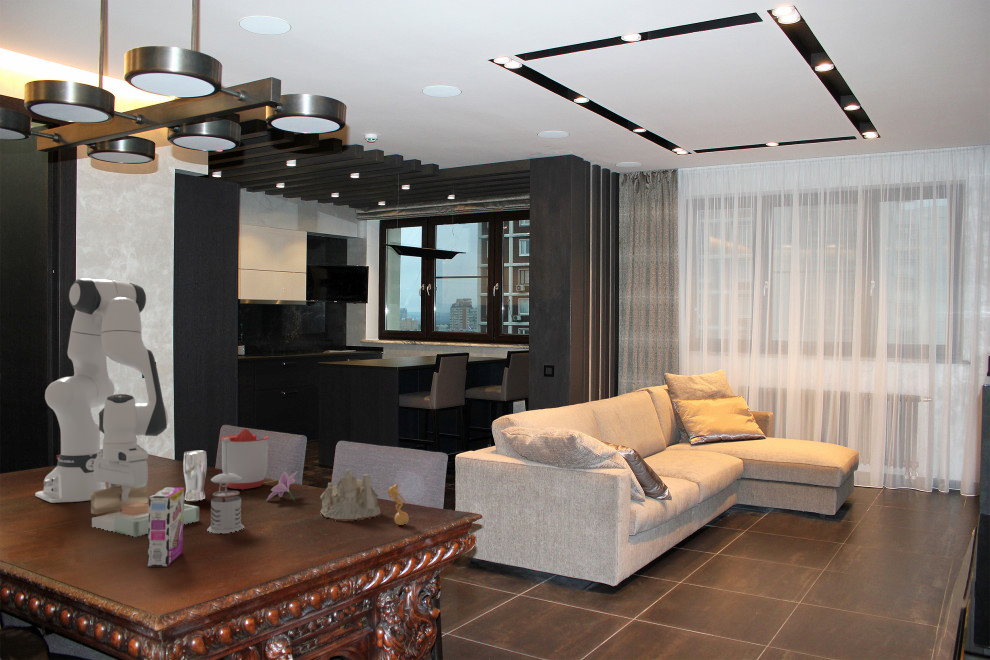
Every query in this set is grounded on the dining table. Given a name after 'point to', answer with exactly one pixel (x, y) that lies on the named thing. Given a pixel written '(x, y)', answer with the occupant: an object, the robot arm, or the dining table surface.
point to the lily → (282, 485)
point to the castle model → (350, 498)
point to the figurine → (401, 516)
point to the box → (142, 525)
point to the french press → (226, 504)
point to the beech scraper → (116, 498)
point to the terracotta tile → (135, 509)
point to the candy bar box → (165, 526)
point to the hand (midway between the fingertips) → (119, 499)
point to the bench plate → (108, 520)
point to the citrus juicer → (245, 459)
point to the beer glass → (195, 474)
